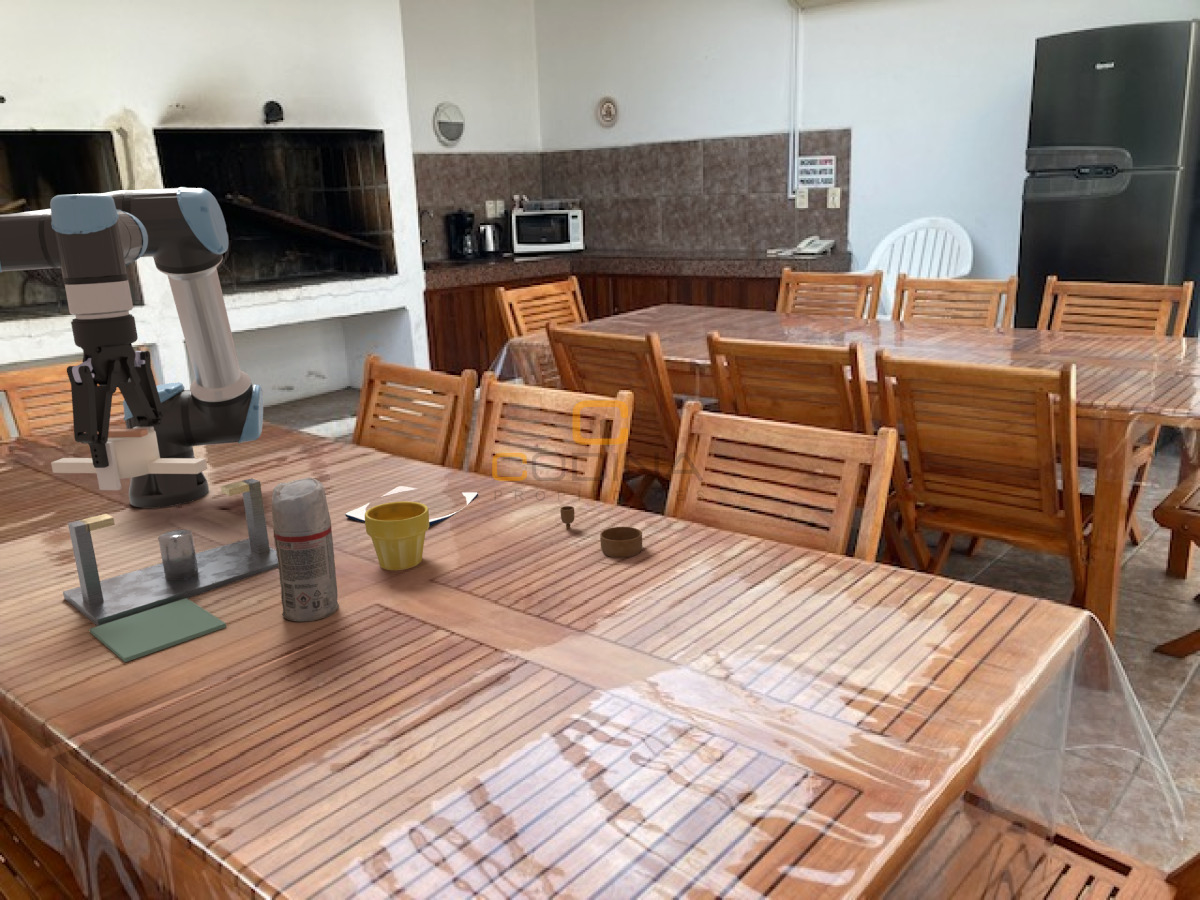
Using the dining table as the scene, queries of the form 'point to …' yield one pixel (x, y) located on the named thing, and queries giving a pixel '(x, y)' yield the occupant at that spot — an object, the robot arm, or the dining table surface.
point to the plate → (360, 512)
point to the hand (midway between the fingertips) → (131, 479)
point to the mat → (156, 629)
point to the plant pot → (398, 533)
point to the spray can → (304, 550)
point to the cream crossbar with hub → (134, 457)
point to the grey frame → (169, 565)
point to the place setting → (611, 537)
